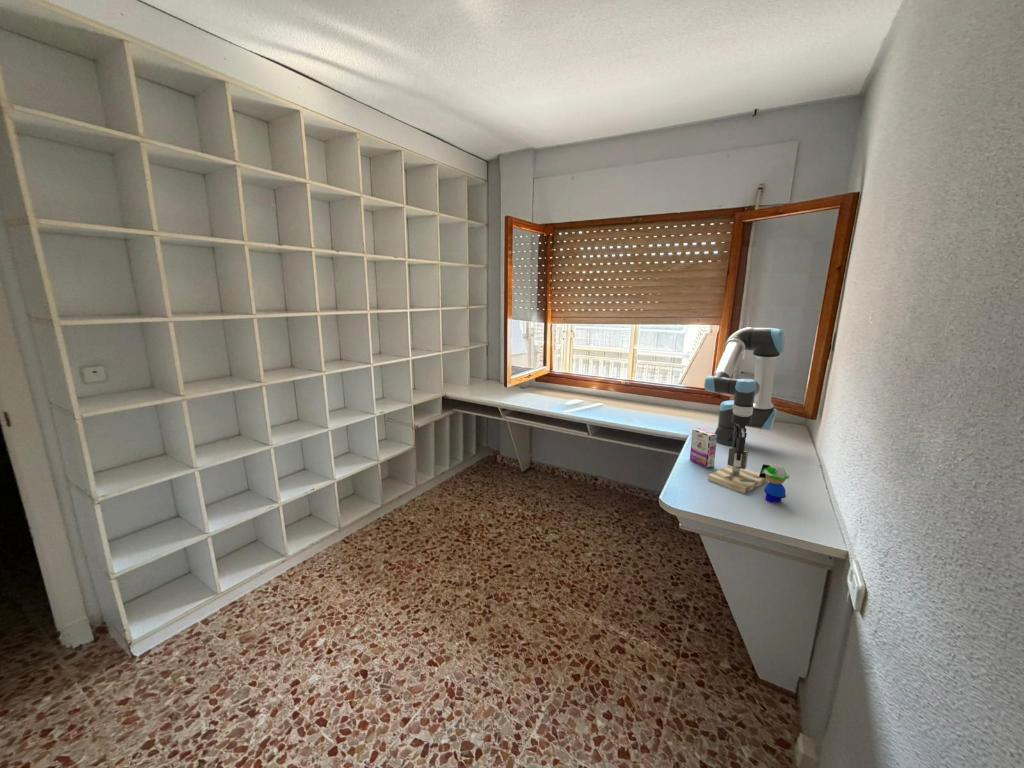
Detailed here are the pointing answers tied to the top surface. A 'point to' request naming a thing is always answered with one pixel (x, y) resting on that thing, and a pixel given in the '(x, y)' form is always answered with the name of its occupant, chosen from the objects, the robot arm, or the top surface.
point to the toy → (774, 482)
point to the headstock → (737, 479)
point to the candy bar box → (703, 447)
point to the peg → (731, 461)
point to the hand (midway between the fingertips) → (735, 464)
